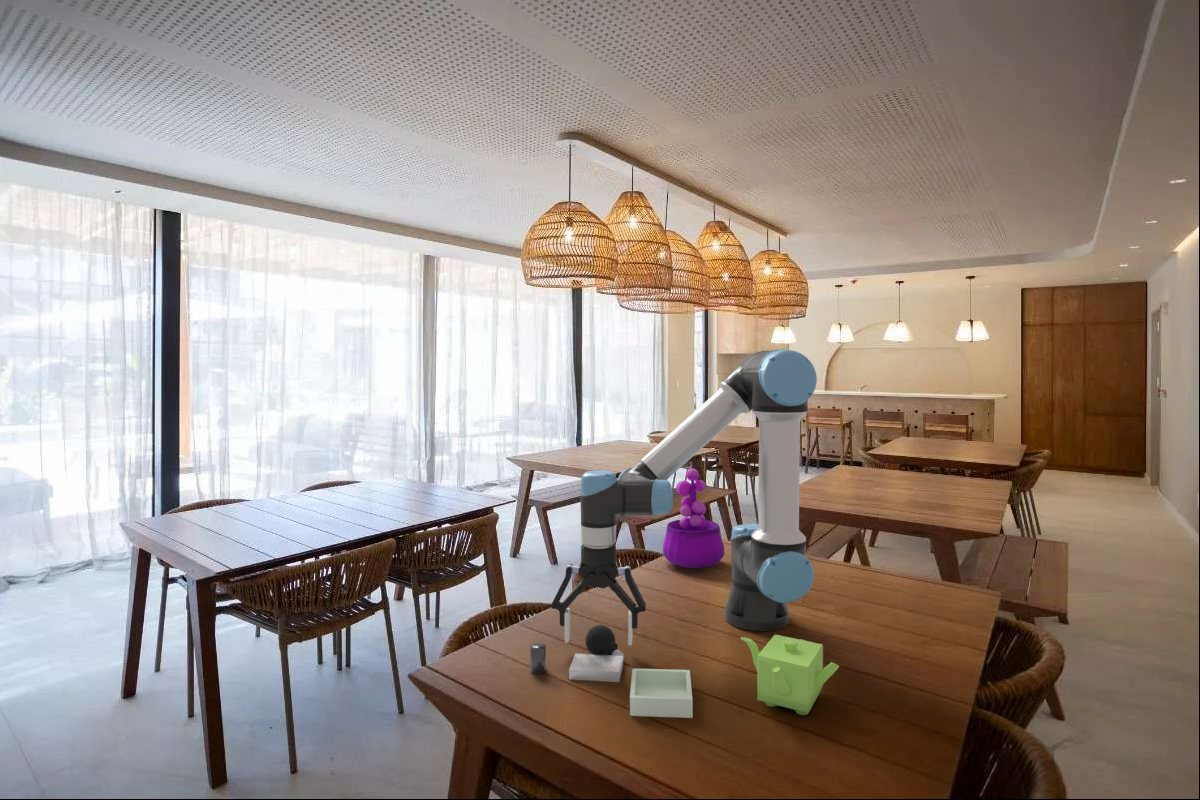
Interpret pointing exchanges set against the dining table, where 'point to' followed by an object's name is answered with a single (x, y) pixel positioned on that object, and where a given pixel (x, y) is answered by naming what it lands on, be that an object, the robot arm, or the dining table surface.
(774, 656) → the kettle
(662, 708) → the tray
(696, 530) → the decorative plant
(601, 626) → the light bulb
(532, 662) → the cylinder
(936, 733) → the dining table surface
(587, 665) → the white stone flat block
